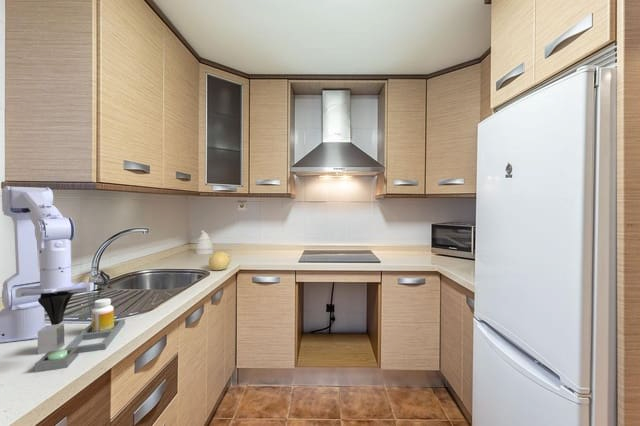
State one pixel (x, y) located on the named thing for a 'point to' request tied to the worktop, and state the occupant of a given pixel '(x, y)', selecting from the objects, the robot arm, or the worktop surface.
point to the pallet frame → (87, 335)
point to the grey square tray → (56, 361)
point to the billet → (50, 338)
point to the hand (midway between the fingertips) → (57, 323)
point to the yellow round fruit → (219, 261)
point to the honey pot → (204, 244)
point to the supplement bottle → (102, 316)
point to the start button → (57, 354)
